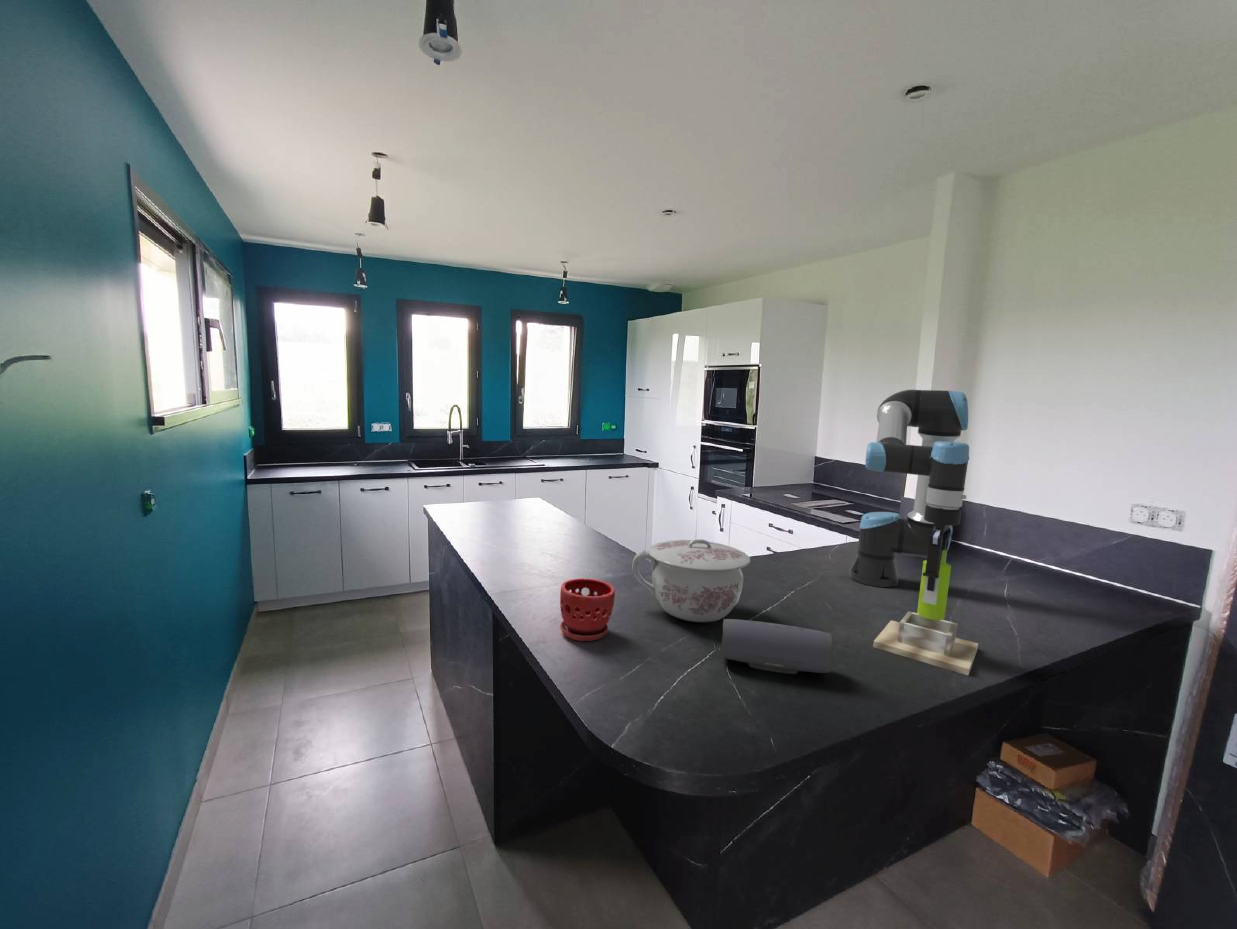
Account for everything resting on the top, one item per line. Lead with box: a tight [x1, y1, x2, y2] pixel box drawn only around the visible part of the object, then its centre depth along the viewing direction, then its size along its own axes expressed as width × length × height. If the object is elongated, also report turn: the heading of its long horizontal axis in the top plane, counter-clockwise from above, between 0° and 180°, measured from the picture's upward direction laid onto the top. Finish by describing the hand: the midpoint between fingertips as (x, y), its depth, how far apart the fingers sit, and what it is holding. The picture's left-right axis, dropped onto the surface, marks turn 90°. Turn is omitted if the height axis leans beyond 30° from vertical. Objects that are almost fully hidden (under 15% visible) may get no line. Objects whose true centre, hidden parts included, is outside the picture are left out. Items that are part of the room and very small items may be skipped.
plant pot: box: [559, 578, 616, 642], centre depth 134 cm, size 13×13×12 cm
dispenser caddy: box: [872, 611, 979, 676], centre depth 136 cm, size 20×18×6 cm
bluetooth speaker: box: [720, 618, 833, 675], centre depth 122 cm, size 23×9×10 cm, turn 77°
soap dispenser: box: [916, 550, 952, 620], centre depth 135 cm, size 6×7×20 cm
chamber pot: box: [631, 538, 751, 623], centre depth 151 cm, size 28×28×21 cm
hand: (931, 599), depth 135 cm, fingers closed on soap dispenser, 6 cm apart
